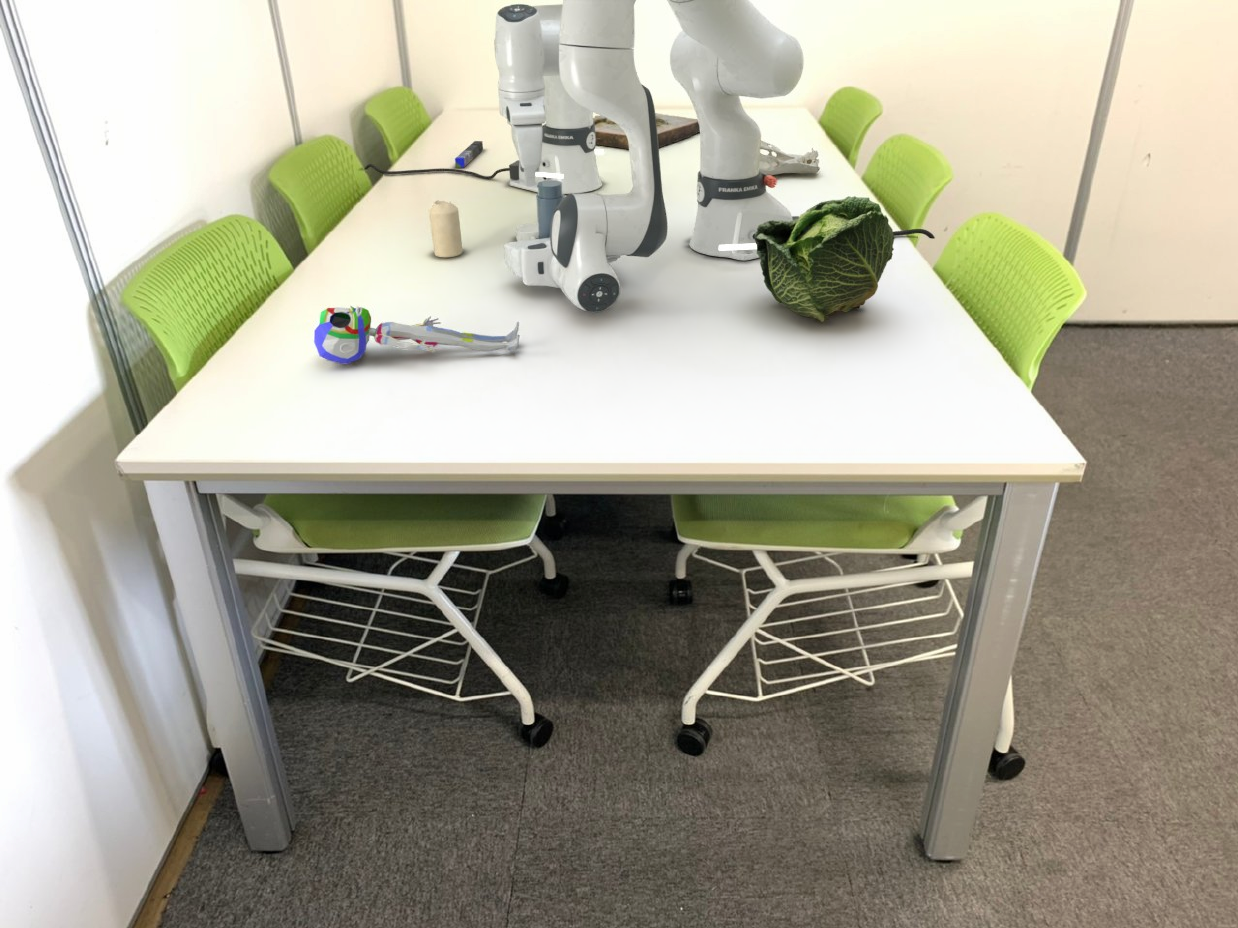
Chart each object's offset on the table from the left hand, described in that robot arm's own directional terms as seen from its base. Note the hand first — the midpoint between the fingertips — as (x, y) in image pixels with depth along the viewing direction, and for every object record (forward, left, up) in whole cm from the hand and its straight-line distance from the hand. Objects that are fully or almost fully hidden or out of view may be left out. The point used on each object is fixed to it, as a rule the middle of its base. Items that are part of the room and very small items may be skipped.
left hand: (527, 178), depth 175 cm
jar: (+13, -11, -12) cm, 21 cm away
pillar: (-53, +47, -12) cm, 72 cm away
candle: (-9, -15, -12) cm, 21 cm away
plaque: (-28, +91, -12) cm, 95 cm away
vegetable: (+64, -8, -12) cm, 65 cm away
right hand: (+12, -11, -7) cm, 18 cm away
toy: (+17, -53, -12) cm, 57 cm away
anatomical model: (+23, +69, -12) cm, 74 cm away
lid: (0, 0, -10) cm, 10 cm away
